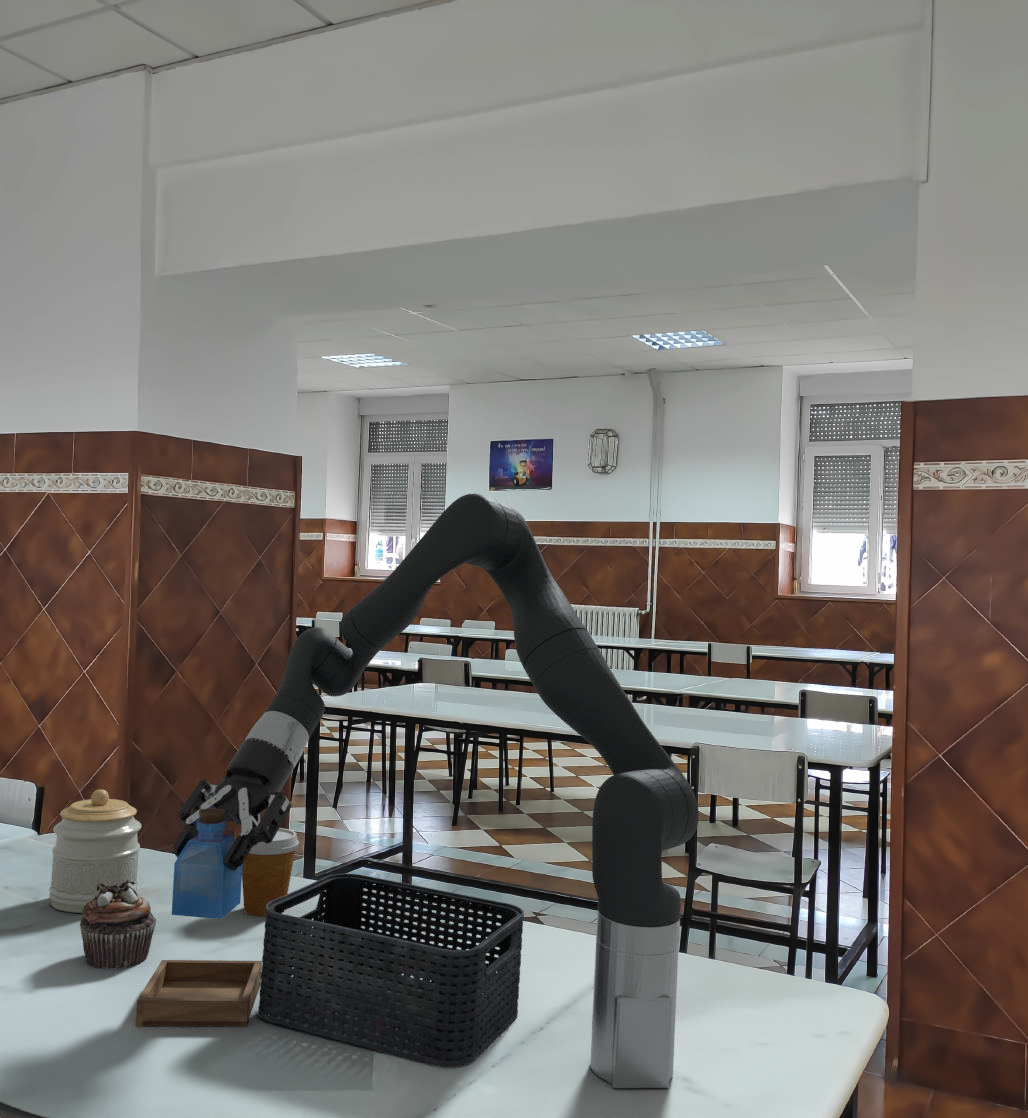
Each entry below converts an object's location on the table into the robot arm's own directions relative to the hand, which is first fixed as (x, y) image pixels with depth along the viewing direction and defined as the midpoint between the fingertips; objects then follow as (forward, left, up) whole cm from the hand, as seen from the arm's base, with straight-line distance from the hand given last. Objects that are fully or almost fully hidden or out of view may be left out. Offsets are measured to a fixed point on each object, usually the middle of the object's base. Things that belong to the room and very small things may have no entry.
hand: (203, 861), depth 123 cm
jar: (+40, +23, -18) cm, 50 cm away
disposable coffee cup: (+37, -4, -18) cm, 41 cm away
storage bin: (-2, -24, -18) cm, 30 cm away
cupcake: (+16, +13, -18) cm, 28 cm away
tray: (+1, -1, -18) cm, 18 cm away
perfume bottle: (+1, -1, -6) cm, 7 cm away
